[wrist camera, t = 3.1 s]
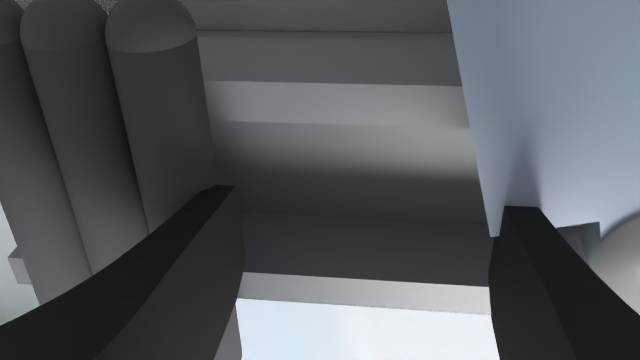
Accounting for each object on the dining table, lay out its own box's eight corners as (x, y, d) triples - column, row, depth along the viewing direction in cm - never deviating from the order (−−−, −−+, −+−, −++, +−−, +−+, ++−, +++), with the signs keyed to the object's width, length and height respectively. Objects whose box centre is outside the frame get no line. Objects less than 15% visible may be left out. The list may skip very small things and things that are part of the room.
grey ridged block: (201, -21, 11) (173, 5, 10) (250, 353, 16) (236, 403, 15) (-41, -21, 12) (-99, 4, 10) (84, 340, 17) (56, 387, 16)
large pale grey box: (671, 35, 13) (730, 92, 11) (609, 244, 17) (644, 325, 14) (9, 27, 15) (-68, 74, 13) (70, 217, 19) (18, 283, 16)
